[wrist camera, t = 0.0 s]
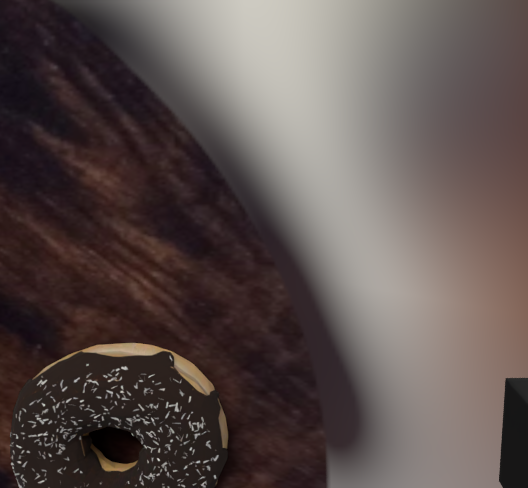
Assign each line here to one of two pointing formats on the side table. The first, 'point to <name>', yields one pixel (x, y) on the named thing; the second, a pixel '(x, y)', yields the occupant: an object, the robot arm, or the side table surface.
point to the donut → (119, 421)
